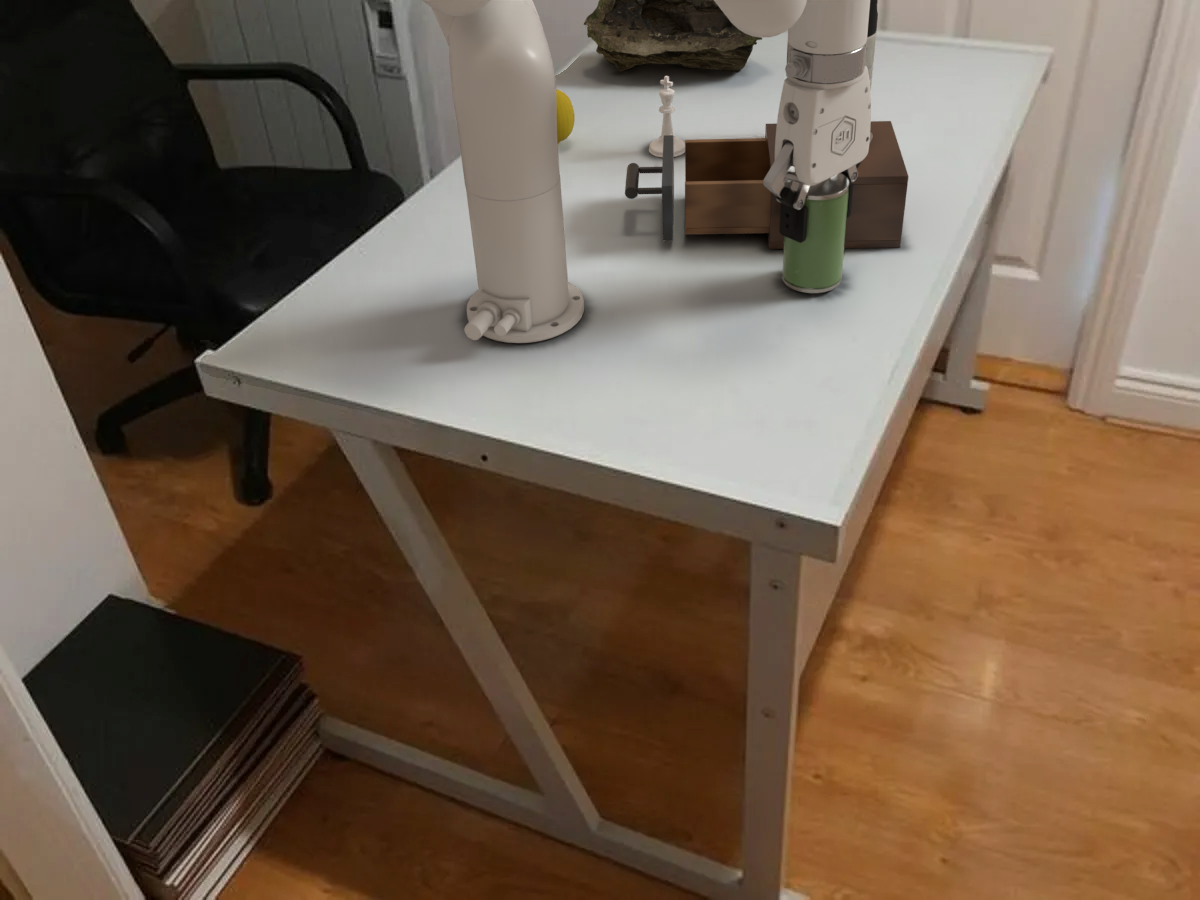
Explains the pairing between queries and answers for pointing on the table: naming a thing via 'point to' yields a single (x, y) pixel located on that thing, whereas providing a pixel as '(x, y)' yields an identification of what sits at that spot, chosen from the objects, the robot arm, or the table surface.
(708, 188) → the drawer
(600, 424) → the table surface
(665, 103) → the chess piece
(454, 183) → the table surface
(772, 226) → the cabinet
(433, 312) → the table surface
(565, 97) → the lemon
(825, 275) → the tin can
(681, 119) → the table surface
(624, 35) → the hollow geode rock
